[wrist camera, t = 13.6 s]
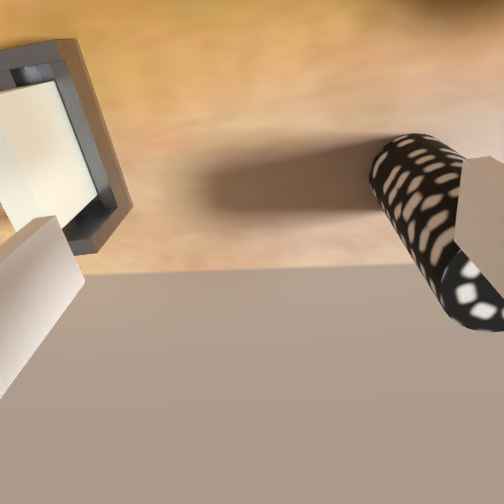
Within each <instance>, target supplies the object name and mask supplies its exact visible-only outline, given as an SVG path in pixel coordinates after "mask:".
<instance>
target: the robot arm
mask: <svg viewBox="0 0 504 504" xmlns="http://www.w3.org/2000/svg"><path fill="white" fill-rule="evenodd" d="M454 241H455V243H456V244H457V245H458V246H459V247H460V248H461V250H462V251H463V252H464V253H465V254H466V255H467V257H468V258H469V259H470V260H471V261H472V262H473V264H474V265H475V266H476V267H477V268H478V269H479V271H480V272H481V273H482V274H483V275H484V276H485V278H486V279H487V280H488V281H489V282H490V283H491V285H492V286H493V287H494V288H495V289H496V290H497V292H498V293H499V294H500V295H501V296H502V297H503V299H504V164H502V163H501V162H499V161H497V160H496V159H494V158H492V157H491V156H488V157H480V158H473V159H466V160H463V163H462V172H461V181H460V189H459V198H458V207H457V215H456V224H455V233H454ZM84 283H85V280H84V277H83V275H82V273H81V271H80V269H79V266H78V264H77V262H76V260H75V257H74V255H73V253H72V251H71V249H70V246H69V244H68V242H67V240H66V238H65V235H64V233H63V231H62V229H61V227H60V224H59V222H58V220H57V218H56V216H55V215H53V216H46V217H38V218H34V219H33V220H31V221H30V222H29V223H28V224H26V225H25V226H24V227H23V228H21V229H20V230H19V231H18V232H16V233H15V234H14V235H13V236H12V237H10V238H9V239H8V240H7V241H5V242H4V243H3V244H2V245H0V398H1V397H2V396H3V394H4V393H5V392H6V390H7V389H8V387H9V386H10V385H11V383H12V382H13V381H14V379H15V378H16V376H17V375H18V374H19V372H20V371H21V370H22V368H23V367H24V366H25V364H26V363H27V361H28V360H29V359H30V357H31V356H32V354H33V353H34V352H35V350H36V349H37V348H38V346H39V345H40V344H41V342H42V341H43V339H44V338H45V337H46V335H47V334H48V333H49V331H50V330H51V329H52V327H53V326H54V324H55V323H56V322H57V320H58V319H59V317H60V316H61V315H62V313H63V312H64V311H65V309H66V308H67V307H68V305H69V304H70V302H71V301H72V299H73V298H74V297H75V296H76V294H77V293H78V291H79V290H80V288H81V287H82V286H83V285H84Z"/></svg>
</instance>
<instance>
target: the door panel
mask: <svg viewBox="0 0 504 504" xmlns="http://www.w3.org/2000/svg"><path fill="white" fill-rule="evenodd" d="M98 194H99V193H98V190H97V187H96V185H95V182H94V179H93V177H92V174H91V171H90V169H89V166H88V164H87V161H86V158H85V156H84V153H83V150H82V148H81V145H80V142H79V140H78V137H77V135H76V132H75V129H74V127H73V124H72V121H71V119H70V116H69V113H68V111H67V108H66V106H65V103H64V100H63V98H62V95H61V92H60V90H59V87H58V84H57V82H56V80H51V81H45V82H40V83H35V84H31V85H27V86H23V87H18V88H14V89H10V90H6V91H2V92H0V202H1V204H2V206H3V208H4V210H5V212H6V214H7V216H8V218H9V220H10V221H11V223H12V225H13V227H14V229H15V231H16V232H18V231H19V230H20V229H21V228H23V227H24V226H25V225H26V224H28V223H29V222H30V221H31V220H33V219H34V218H38V217H46V216H53V215H55V216H56V218H57V220H58V222H59V224H60V227H61V229H62V228H63V227H64V226H65V225H66V224H68V223H69V222H70V221H71V220H72V219H73V218H74V217H75V216H76V215H77V214H78V213H79V212H80V211H81V210H82V209H83V208H84V207H85V206H86V205H87V204H88V203H89V202H90V201H91V200H92V199H93V198H95V197H96V196H97V195H98Z"/></svg>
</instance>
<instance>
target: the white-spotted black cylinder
mask: <svg viewBox="0 0 504 504" xmlns="http://www.w3.org/2000/svg"><path fill="white" fill-rule="evenodd" d="M463 160H466V158H465V157H463V156H462V155H460V154H459V153H457V152H456V151H454V150H453V149H451V148H450V147H448V146H447V145H445V144H444V143H442V142H441V141H439V140H438V139H436V138H434V137H432V136H429V135H426V134H408V135H405V136H402V137H399V138H397V139H395V140H393V141H391V142H390V143H389V144H387V145H386V146H385V147H384V148H383V149H382V150H381V151H380V152H379V153H378V155H377V156H376V158H375V159H374V161H373V164H372V166H371V170H370V174H369V182H370V187H371V190H372V192H373V195H374V196H375V198H376V199H377V201H378V203H379V204H380V206H381V208H382V209H383V211H384V213H385V214H386V216H387V217H388V219H389V221H390V222H391V224H392V226H393V227H394V229H395V230H396V232H397V234H398V235H399V237H400V239H401V240H402V242H403V244H404V245H405V247H406V248H407V250H408V252H409V253H410V255H411V257H412V258H413V260H414V262H415V263H416V265H417V266H418V268H419V270H420V271H421V273H422V275H423V276H424V278H425V279H426V281H427V283H428V284H429V286H430V288H431V289H432V291H433V293H434V294H435V296H436V297H437V299H438V301H439V302H440V304H441V306H442V307H443V309H444V310H445V312H446V313H447V314H448V315H449V317H450V318H451V319H453V320H454V321H455V322H457V323H458V324H460V325H462V326H464V327H466V328H469V329H473V330H477V331H485V332H499V331H504V299H503V297H502V296H501V295H500V294H499V293H498V292H497V290H496V289H495V288H494V287H493V286H492V285H491V283H490V282H489V281H488V280H487V279H486V278H485V276H484V275H483V274H482V273H481V272H480V271H479V269H478V268H477V267H476V266H475V265H474V264H473V262H472V261H471V260H470V259H469V258H468V257H467V255H466V254H465V253H464V252H463V251H462V250H461V248H460V247H459V246H458V245H457V244H456V243H455V241H454V233H455V224H456V215H457V207H458V198H459V189H460V181H461V172H462V163H463Z"/></svg>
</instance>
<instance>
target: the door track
mask: <svg viewBox="0 0 504 504" xmlns="http://www.w3.org/2000/svg"><path fill="white" fill-rule="evenodd" d="M51 80H56V82H57V84H58V87H59V90H60V92H61V95H62V98H63V100H64V103H65V106H66V108H67V111H68V113H69V116H70V119H71V121H72V124H73V127H74V129H75V132H76V135H77V137H78V140H79V142H80V145H81V148H82V150H83V153H84V156H85V158H86V161H87V164H88V166H89V169H90V171H91V174H92V177H93V179H94V182H95V185H96V187H97V190H98V193H99V194H98V195H97V196H96V197H95V198H93V199H92V200H91V201H90V202H89V203H88V204H87V205H86V206H85V207H84V208H83V209H82V210H81V211H80V212H79V213H78V214H77V215H76V216H75V217H74V218H73V219H72V220H71V221H70V222H69V223H68V224H66V225H65V226H64V227H63V228H62V231H63V233H64V235H65V238H66V240H67V242H68V244H69V246H70V249H71V251H72V253H73V255H74V256H77V255H85V254H93V253H98V251H99V250H100V249H101V247H102V246H103V245H104V243H105V242H106V241H107V240H108V238H109V237H110V236H111V234H112V233H113V232H114V230H115V229H116V228H117V227H118V225H119V224H120V223H121V221H122V220H123V219H124V218H125V216H126V215H127V214H128V212H129V211H130V210H131V208H132V207H133V204H132V201H131V198H130V195H129V192H128V189H127V186H126V183H125V180H124V177H123V174H122V171H121V168H120V166H119V163H118V160H117V157H116V154H115V151H114V148H113V145H112V142H111V139H110V136H109V133H108V130H107V127H106V124H105V121H104V118H103V115H102V112H101V109H100V106H99V103H98V100H97V98H96V95H95V92H94V89H93V86H92V83H91V80H90V77H89V74H88V71H87V68H86V65H85V62H84V59H83V56H82V53H81V50H80V47H79V44H78V41H77V39H61V40H51V41H46V42H41V43H36V44H31V45H26V46H20V47H15V48H10V49H5V50H0V87H1V90H2V91H6V90H10V89H14V88H18V87H23V86H27V85H31V84H35V83H40V82H45V81H51Z"/></svg>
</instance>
